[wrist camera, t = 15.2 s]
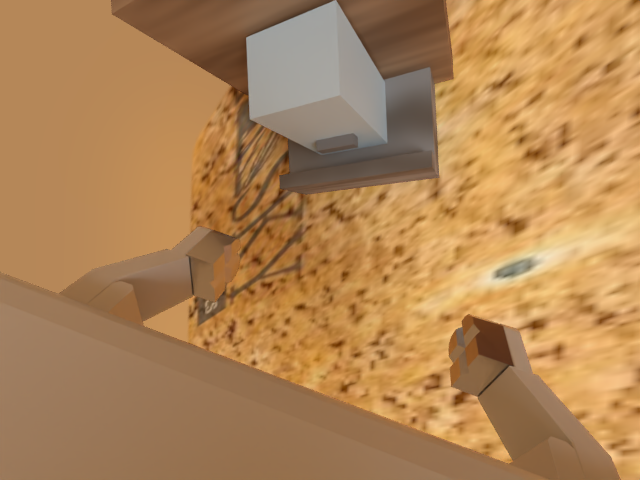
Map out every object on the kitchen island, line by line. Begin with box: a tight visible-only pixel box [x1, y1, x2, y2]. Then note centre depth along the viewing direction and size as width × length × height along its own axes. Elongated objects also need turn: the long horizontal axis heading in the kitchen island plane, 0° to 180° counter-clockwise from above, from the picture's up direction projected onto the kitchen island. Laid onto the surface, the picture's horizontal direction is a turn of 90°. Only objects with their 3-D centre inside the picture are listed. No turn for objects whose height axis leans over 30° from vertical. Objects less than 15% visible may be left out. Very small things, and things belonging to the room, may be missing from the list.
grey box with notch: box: [246, 0, 387, 155], centre depth 22 cm, size 6×6×10 cm
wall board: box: [111, 0, 453, 194], centre depth 21 cm, size 10×16×18 cm, turn 93°
